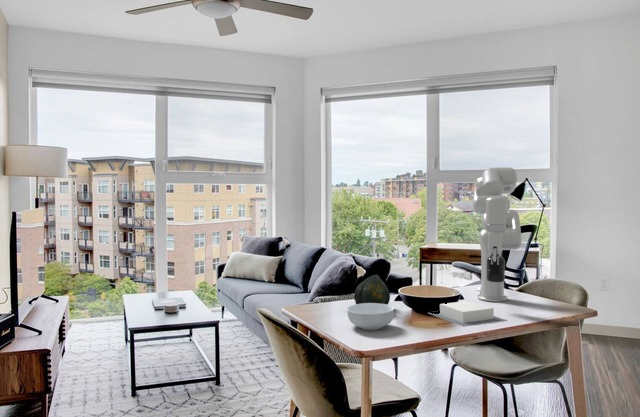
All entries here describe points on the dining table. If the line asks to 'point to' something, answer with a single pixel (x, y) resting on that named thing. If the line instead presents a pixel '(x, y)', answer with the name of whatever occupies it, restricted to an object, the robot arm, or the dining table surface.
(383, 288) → the squash
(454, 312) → the plinth block
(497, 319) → the mat
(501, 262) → the supplement bottle
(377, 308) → the cereal bowl
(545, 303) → the dining table surface
